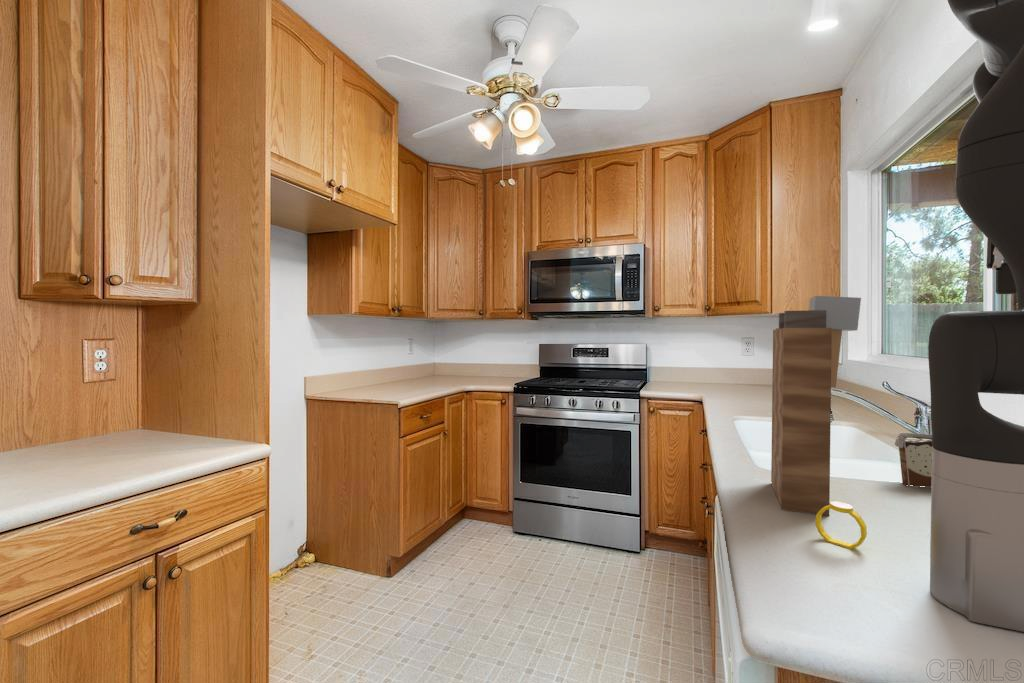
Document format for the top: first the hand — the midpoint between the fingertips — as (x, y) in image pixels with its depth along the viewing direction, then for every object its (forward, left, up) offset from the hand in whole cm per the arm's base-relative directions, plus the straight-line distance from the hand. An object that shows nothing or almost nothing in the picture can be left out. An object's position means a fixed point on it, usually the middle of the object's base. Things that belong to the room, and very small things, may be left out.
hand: (1022, 290), depth 67 cm
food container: (+30, +1, -38) cm, 48 cm away
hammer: (+13, +25, -8) cm, 29 cm away
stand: (+8, +27, -38) cm, 47 cm away
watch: (-12, +24, -38) cm, 47 cm away
